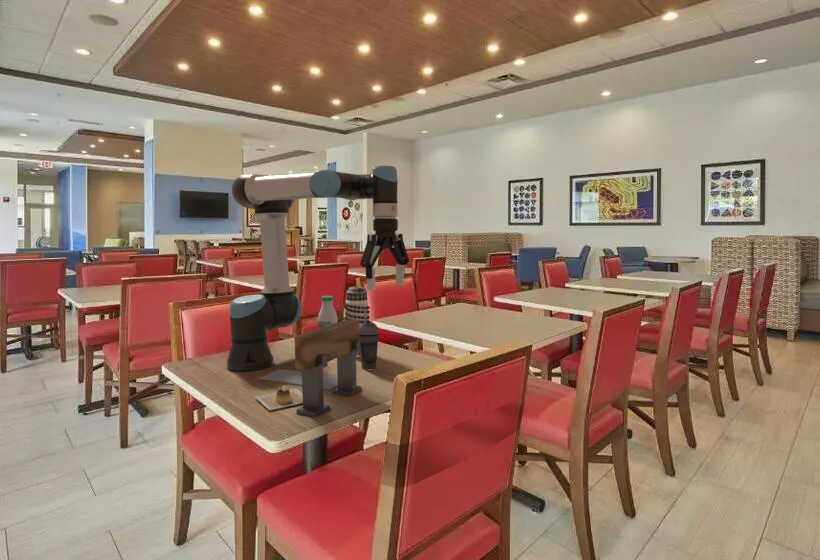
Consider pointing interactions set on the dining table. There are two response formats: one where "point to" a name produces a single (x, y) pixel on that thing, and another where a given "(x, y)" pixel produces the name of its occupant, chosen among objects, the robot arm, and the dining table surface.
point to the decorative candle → (356, 306)
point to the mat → (298, 378)
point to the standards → (314, 382)
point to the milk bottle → (327, 312)
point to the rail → (325, 343)
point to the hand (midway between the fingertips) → (386, 287)
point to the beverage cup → (368, 343)
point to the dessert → (281, 397)
